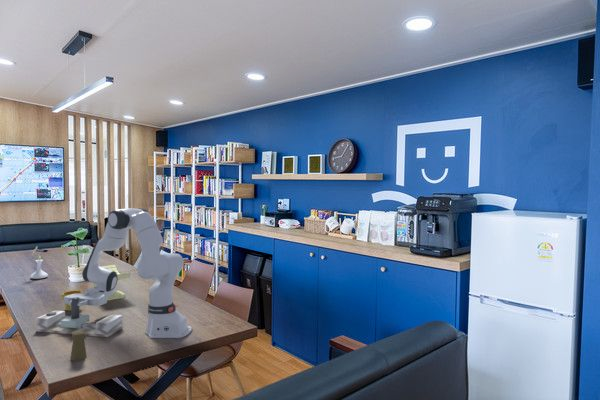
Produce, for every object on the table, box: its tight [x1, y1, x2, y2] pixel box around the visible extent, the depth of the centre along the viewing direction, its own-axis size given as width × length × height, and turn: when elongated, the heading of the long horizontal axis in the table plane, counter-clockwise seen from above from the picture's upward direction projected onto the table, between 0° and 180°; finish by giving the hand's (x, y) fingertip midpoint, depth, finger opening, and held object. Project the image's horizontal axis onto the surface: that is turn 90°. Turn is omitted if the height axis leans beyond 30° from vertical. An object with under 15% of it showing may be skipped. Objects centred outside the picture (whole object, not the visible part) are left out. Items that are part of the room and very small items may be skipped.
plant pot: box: [61, 290, 84, 312], centre depth 225 cm, size 10×10×10 cm
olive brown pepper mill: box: [70, 331, 88, 362], centre depth 164 cm, size 6×6×11 cm
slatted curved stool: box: [92, 264, 131, 301], centre depth 250 cm, size 30×16×18 cm, turn 43°
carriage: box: [61, 297, 90, 329], centre depth 195 cm, size 8×10×14 cm
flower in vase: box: [29, 246, 49, 280], centre depth 293 cm, size 13×11×25 cm
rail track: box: [36, 310, 123, 338], centre depth 194 cm, size 38×12×7 cm, turn 83°
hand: (74, 304), depth 194 cm, fingers closed on carriage, 4 cm apart
